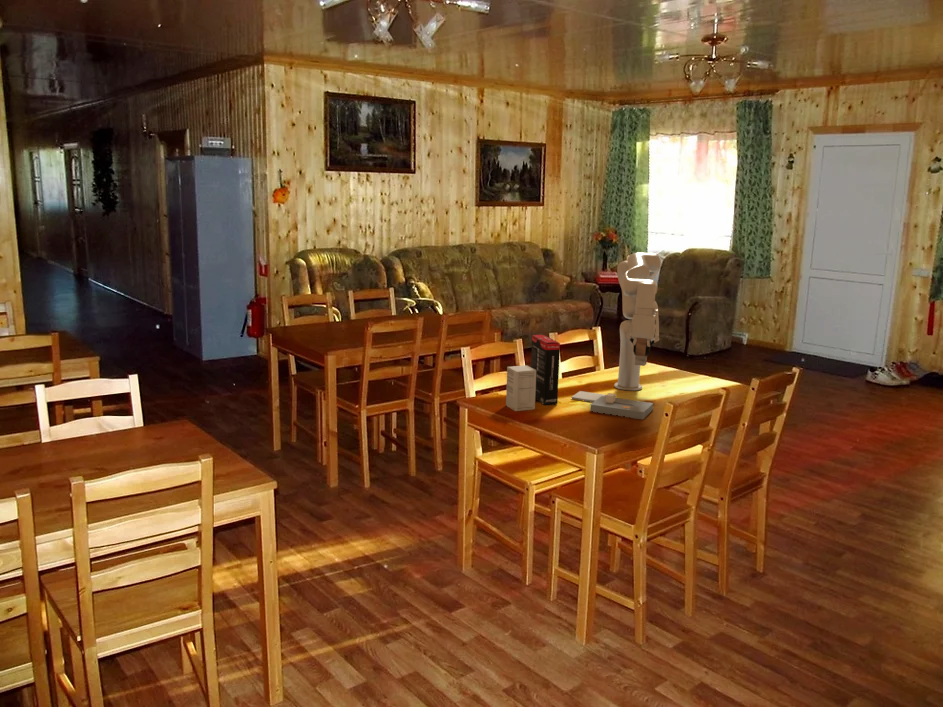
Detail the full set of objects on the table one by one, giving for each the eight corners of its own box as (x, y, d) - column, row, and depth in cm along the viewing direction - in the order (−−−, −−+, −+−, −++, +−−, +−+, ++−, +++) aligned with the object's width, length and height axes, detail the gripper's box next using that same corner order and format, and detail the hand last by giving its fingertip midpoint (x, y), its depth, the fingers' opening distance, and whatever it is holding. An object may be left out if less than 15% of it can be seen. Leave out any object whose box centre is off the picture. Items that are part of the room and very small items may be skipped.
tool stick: (637, 362, 340) (639, 330, 337) (646, 364, 339) (648, 331, 336) (634, 364, 337) (637, 331, 334) (644, 365, 335) (646, 333, 332)
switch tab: (608, 399, 336) (608, 393, 336) (615, 401, 335) (615, 394, 334) (605, 402, 333) (606, 395, 332) (612, 403, 332) (613, 396, 331)
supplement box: (525, 403, 339) (527, 364, 335) (535, 409, 330) (537, 369, 327) (505, 405, 335) (506, 366, 331) (514, 411, 327) (516, 371, 323)
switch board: (601, 402, 344) (602, 395, 344) (652, 410, 335) (653, 402, 334) (590, 411, 330) (590, 404, 329) (643, 419, 321) (643, 412, 320)
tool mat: (579, 393, 359) (580, 391, 358) (606, 396, 353) (606, 394, 353) (571, 399, 348) (571, 397, 348) (597, 403, 343) (598, 401, 343)
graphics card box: (558, 405, 338) (562, 341, 332) (543, 406, 336) (546, 342, 330) (542, 394, 354) (545, 334, 348) (528, 395, 352) (531, 334, 346)
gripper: (666, 312, 333) (663, 355, 337) (627, 308, 340) (624, 351, 344) (662, 314, 326) (659, 358, 330) (622, 310, 333) (619, 354, 337)
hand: (641, 354), depth 337 cm, fingers closed on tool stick, 4 cm apart
